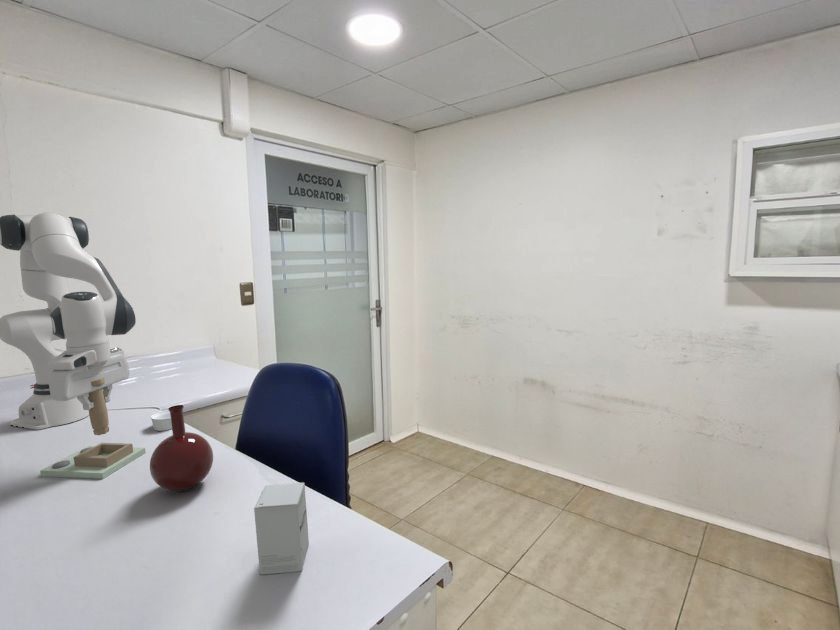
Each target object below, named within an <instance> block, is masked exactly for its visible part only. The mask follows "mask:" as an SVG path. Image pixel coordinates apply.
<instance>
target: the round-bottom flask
mask: <svg viewBox="0 0 840 630" xmlns="http://www.w3.org/2000/svg"><path fill="white" fill-rule="evenodd" d="M184 407H185V406H184V405H183V404H176V405H172V406H170V407H168V409H167V410H169V411H170V416H171V424H172V429H171V430H172V431H171V432H172V435H170V436H168V437H166V438H164V439H163V440H162V441H160V443H159V444H158V445H157V446H156V447H155V448H154V450H153V452H152V454H151V457H150V460H149V472H150V473H149V474H150V475H151V477H152V480H153V481H154V482H155V484H156V485H158V487H160V488H162V489H164V490H165V491H166V490H167V491H170V492H182V491H187V490H191V489H192V488H194V487H196V486H198V485H199V484H200V483H202V481H204V480H205V478H206V477H208V475H209V473H210V471H211V470H212V466H213V463H214V452H213V447H212V446H211V444H210V443H209V441H208V440H207V439H206V438H205V437H203V436H202V435H200V434H197V433H195V432H189V431H187V432H186V427H185V418H184V417H185V416H184Z"/></svg>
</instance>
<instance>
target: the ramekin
mask: <svg viewBox="0 0 840 630" xmlns="http://www.w3.org/2000/svg"><path fill="white" fill-rule="evenodd" d="M150 420H151V422H152V427H153V429H154V430H155V431H158V432H164V431H169V430H172V424H171V416H170V411H169V409H165V410H161V411H158V412H155V413H154V414H152V415H150Z"/></svg>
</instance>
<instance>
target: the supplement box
mask: <svg viewBox="0 0 840 630" xmlns="http://www.w3.org/2000/svg"><path fill="white" fill-rule="evenodd" d="M306 499H307V498H306V486H305V482H293V483H283V484H281V483H280V484H271V485H269V484H267V485H265V486H264V487H263V490H262V492H261V494H260V496H259V498H258V500H257V502H256V504H255V505H254V507H253V511H254V521H255V523H254V524H255V535H256V543H257V544H256V545H257V554H258V555H257V557H258V566H259V567H258V568H259V575H262V576H263V575H272V574H273V575H274V574H284V573H285V574H286V573H297V572H301V571H302V570H303V566H304V562H305V558H306V555H307V550H308V547H309V544H310V543H309V542H310V541H309V540H310V539H309V528H308V527H309V526H308V512H307V502H306V501H307V500H306Z"/></svg>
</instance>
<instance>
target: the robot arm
mask: <svg viewBox="0 0 840 630" xmlns="http://www.w3.org/2000/svg"><path fill="white" fill-rule="evenodd" d="M90 239H91V233H90V229H89V227H88V224H87V223H86V222H85V221H84V220H83V219H80V218H78V217H73V216H69V217H67V216H63V215H61V214H58V213H55V212H42V213H38V214H23V215H22V214H21V215H20V214H19V215H16V214H6V215H1V216H0V246H2V247H3V248H4V249H6V250H10V251H17V252H18V251H19V265H20V266H19V267H20V275H21V285H22V290H23V292H24V293H25V294H26V295H27V296H29V297H31V298H33V299H37V300H38V301H39V300H40V301H43V302H46V303H47V308H40V309H39V308H38V309H32V310H31V309H29V310H20V311H16V312H11V313H8V314H5V315H2V316H1V317H0V340H1V341H2V342H3V343H5V344H7V345H9V346H12V347H15V348H16V349H18V350H20V351H21V352H23V354H24V355H25V356H27V358H28V359H29V361H30V363H31V364H32V368H33V372H34V377H35V381H36V383H35V384H31V385H30V388H29V389H33V391H32V392H33V393H32V395H31V396H29V398H27V399H26V400H25V401H24V402H23V403H21V404H20V405H19V407H18V418H16V419H14V420H12V421H11V422H10V425H13V426H12V427H16V426H18V427H17V428H22V427H24V429H29V430H35V431H36V430H43V429H44V430H45V429H48V428H51V427H56V426H62V425H66V424H70V423H73V422H77V421H80V420H82V419H84V418H87V417H89V410H90V409H92V408H94V402H90V401H89V400H88V398H87V397H89V393H90V392H92V391H95V390H98V389H101V388H102V390H103V395H104V399H105V403H106V404H107V403H109V402H110V401H111V398H110V396H111V393H112V390H113V385H114V384H116V383H120V382H123V381H124V380H127V379H129V377H130V374H131V372H130V369H129V365H128V361H127V358H126V356H125V352H124V350H123V349H122V348H120V347H113V348H111V347H110V341H109V338H108V336H120V335H121V336H122V335H126V334H128V333H129V332H130V331H131V330H132V329H133V328H134V326H136V323H137V322H136V313H135V311H134V308H133V307H132V305H131V304H130V302H129V301H128V300H127V299H126V298H125V297H124V295H123V293H122V292H121V291H120V289H119V287H118V285H117V284H116V283H115V281H114V278H113V277H112V276H111V274H110V272H109V271H108V269H107V268H106V266H105V265H104V264H103V262H102V261H101V260H100V259H99V258H97V257H95V256H93V255H91V254H89V253H88V252H87V251H86V250H84V249H85V248H86V247H87V246H88V245H89V241H90ZM67 279H74V280H78V281H82V282H86V283H89V284H91V285H93V286H94V287H95V288H96V290H97V292H98V294H97V293H95V292H92V291H75V292H74V291H73V292H70V291H69V287H68V280H67ZM99 295H100V296H101V298H102V299H101V298H100V296H99ZM56 340H57V341H58V340H66V342H65V347H66V348H65V350H63V349H58V348H55V347H53V345H52V342H53V341H56ZM103 377H104V380H105V383H104V384H102V385H101V386H99V387H93V386H92V385H91V382H92V381H95V380H98V379H100V378H103Z"/></svg>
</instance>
